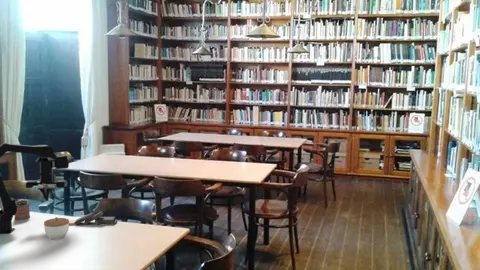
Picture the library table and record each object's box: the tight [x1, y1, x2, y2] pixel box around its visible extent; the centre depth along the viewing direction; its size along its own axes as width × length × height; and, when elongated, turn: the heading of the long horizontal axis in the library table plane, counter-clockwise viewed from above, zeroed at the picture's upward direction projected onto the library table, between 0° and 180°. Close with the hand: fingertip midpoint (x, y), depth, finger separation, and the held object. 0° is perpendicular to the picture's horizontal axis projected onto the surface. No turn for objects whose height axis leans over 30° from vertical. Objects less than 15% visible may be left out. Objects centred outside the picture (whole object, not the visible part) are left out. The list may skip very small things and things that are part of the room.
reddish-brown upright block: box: [13, 199, 31, 221], centre depth 238 cm, size 8×3×10 cm, turn 141°
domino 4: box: [94, 216, 116, 224], centre depth 231 cm, size 5×2×9 cm
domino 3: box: [83, 210, 104, 225], centre depth 231 cm, size 5×2×9 cm
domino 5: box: [96, 219, 118, 225], centre depth 231 cm, size 5×2×9 cm
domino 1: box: [69, 219, 77, 226], centre depth 229 cm, size 5×2×9 cm
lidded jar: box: [43, 217, 70, 240], centre depth 208 cm, size 11×11×9 cm
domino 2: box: [75, 211, 95, 226], centre depth 230 cm, size 5×2×9 cm
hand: (47, 200), depth 227 cm, fingers closed
